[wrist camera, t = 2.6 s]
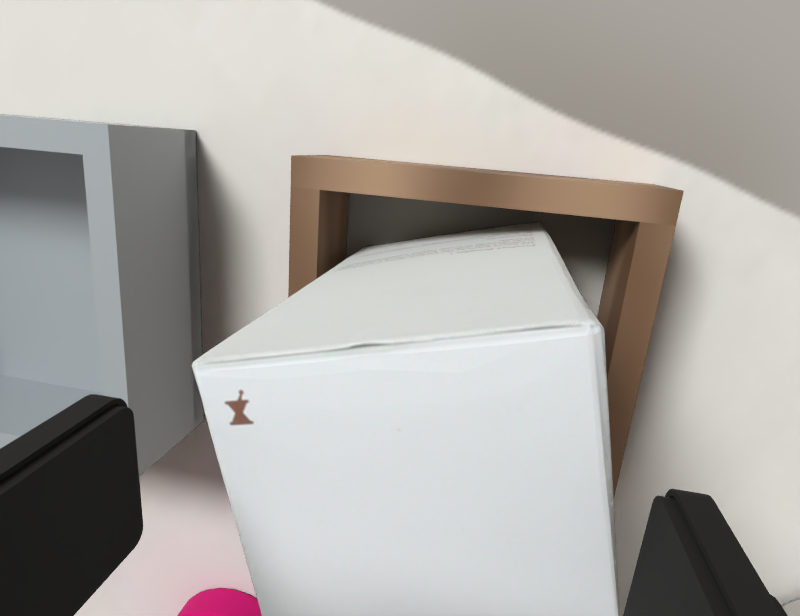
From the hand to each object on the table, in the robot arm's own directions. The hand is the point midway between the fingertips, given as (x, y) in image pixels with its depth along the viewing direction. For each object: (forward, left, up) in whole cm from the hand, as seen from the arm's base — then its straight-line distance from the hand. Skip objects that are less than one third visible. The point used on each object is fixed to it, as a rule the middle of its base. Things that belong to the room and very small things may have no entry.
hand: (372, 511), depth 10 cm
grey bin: (+17, 0, -13) cm, 22 cm away
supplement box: (-1, 0, -13) cm, 13 cm away
